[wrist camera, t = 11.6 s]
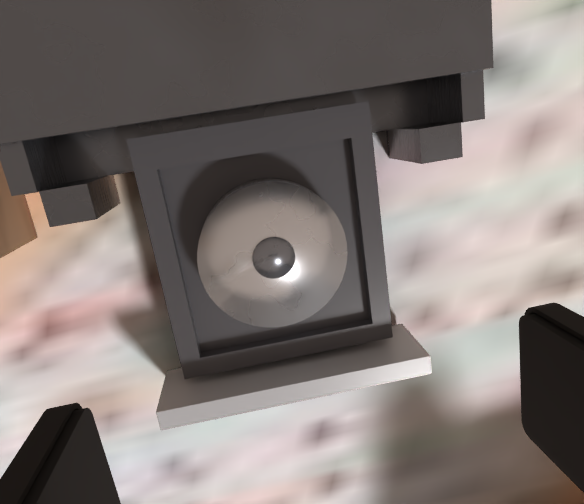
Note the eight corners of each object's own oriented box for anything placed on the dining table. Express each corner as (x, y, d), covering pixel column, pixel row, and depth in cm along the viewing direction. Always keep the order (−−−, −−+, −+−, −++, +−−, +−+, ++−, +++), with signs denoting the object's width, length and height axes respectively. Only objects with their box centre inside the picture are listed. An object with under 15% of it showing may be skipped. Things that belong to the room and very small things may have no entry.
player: (62, 213, 23) (14, 236, 18) (-41, -138, 19) (-140, -236, 14) (441, 149, 25) (495, 154, 20) (419, -187, 21) (482, -290, 16)
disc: (185, 191, 22) (181, 196, 20) (330, 167, 22) (337, 170, 21) (214, 326, 24) (213, 340, 22) (347, 300, 24) (355, 312, 23)
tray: (171, 386, 26) (160, 430, 22) (109, 142, 22) (84, 145, 19) (403, 339, 27) (431, 373, 23) (380, 99, 24) (409, 94, 20)
